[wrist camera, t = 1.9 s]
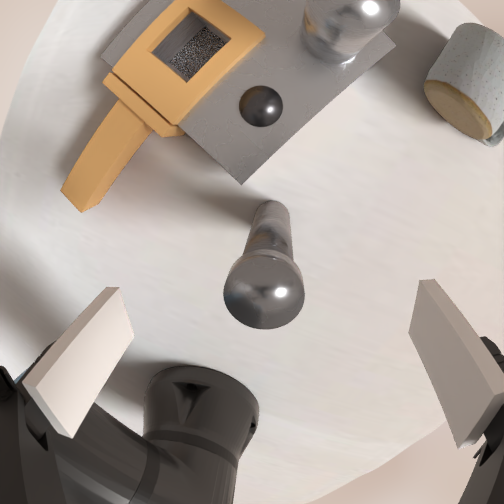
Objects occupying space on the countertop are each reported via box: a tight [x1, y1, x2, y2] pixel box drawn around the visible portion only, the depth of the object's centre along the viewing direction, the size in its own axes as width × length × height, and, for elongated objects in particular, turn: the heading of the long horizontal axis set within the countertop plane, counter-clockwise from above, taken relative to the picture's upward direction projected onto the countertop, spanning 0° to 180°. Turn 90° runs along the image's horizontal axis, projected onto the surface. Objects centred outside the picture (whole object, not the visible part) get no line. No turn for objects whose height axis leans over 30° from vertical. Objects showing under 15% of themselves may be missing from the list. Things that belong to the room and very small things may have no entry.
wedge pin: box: [223, 201, 305, 329], centre depth 20 cm, size 4×4×13 cm
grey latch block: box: [100, 0, 400, 185], centre depth 15 cm, size 16×16×12 cm
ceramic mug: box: [424, 23, 504, 147], centre depth 17 cm, size 11×8×8 cm
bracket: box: [60, 0, 266, 213], centre depth 21 cm, size 20×7×5 cm, turn 135°
